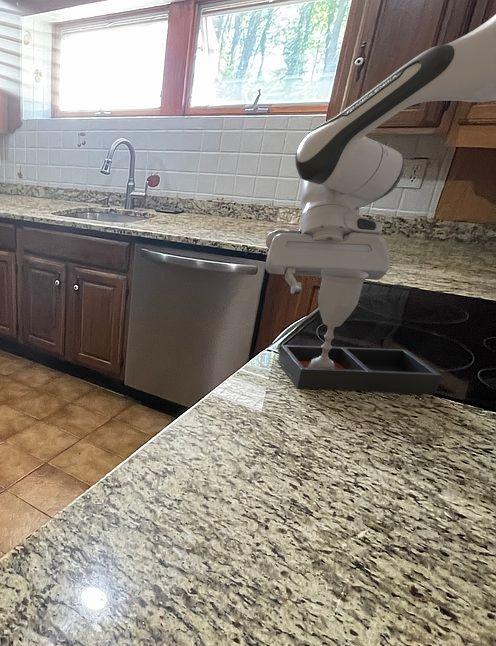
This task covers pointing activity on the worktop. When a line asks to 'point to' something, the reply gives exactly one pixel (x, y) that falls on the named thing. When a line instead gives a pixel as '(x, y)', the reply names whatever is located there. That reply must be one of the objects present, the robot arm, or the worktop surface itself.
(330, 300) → the chalice
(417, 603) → the worktop surface
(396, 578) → the worktop surface
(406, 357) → the tray
